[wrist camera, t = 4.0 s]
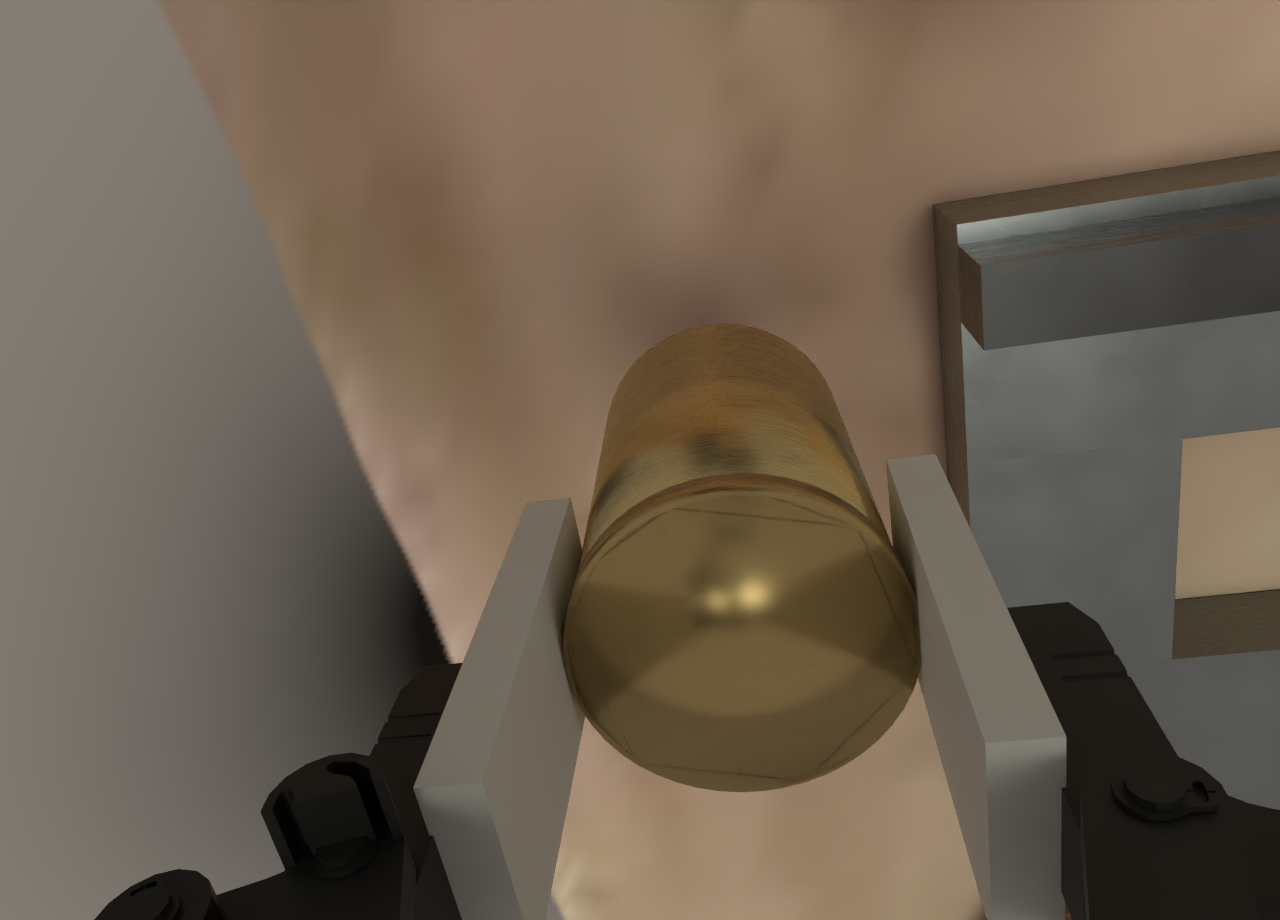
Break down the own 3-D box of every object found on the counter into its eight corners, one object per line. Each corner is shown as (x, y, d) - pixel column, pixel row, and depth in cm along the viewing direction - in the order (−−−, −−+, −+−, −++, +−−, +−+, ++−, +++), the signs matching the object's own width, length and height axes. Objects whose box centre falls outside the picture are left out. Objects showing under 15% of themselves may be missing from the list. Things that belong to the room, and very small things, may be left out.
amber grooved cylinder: (584, 341, 21) (529, 519, 13) (829, 304, 20) (912, 467, 13) (626, 553, 23) (598, 807, 15) (850, 523, 22) (932, 773, 15)
